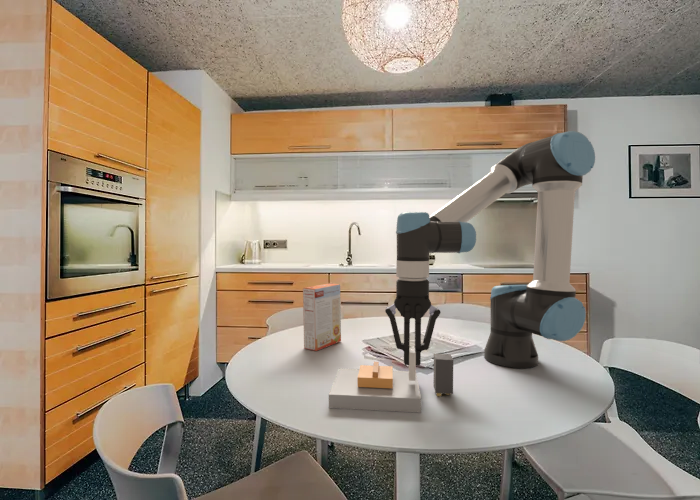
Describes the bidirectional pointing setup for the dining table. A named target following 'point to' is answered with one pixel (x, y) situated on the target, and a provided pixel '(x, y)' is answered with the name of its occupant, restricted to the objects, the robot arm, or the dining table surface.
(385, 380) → the orange ridged block
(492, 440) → the dining table surface
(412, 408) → the socket plate
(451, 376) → the plug
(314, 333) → the cracker box
